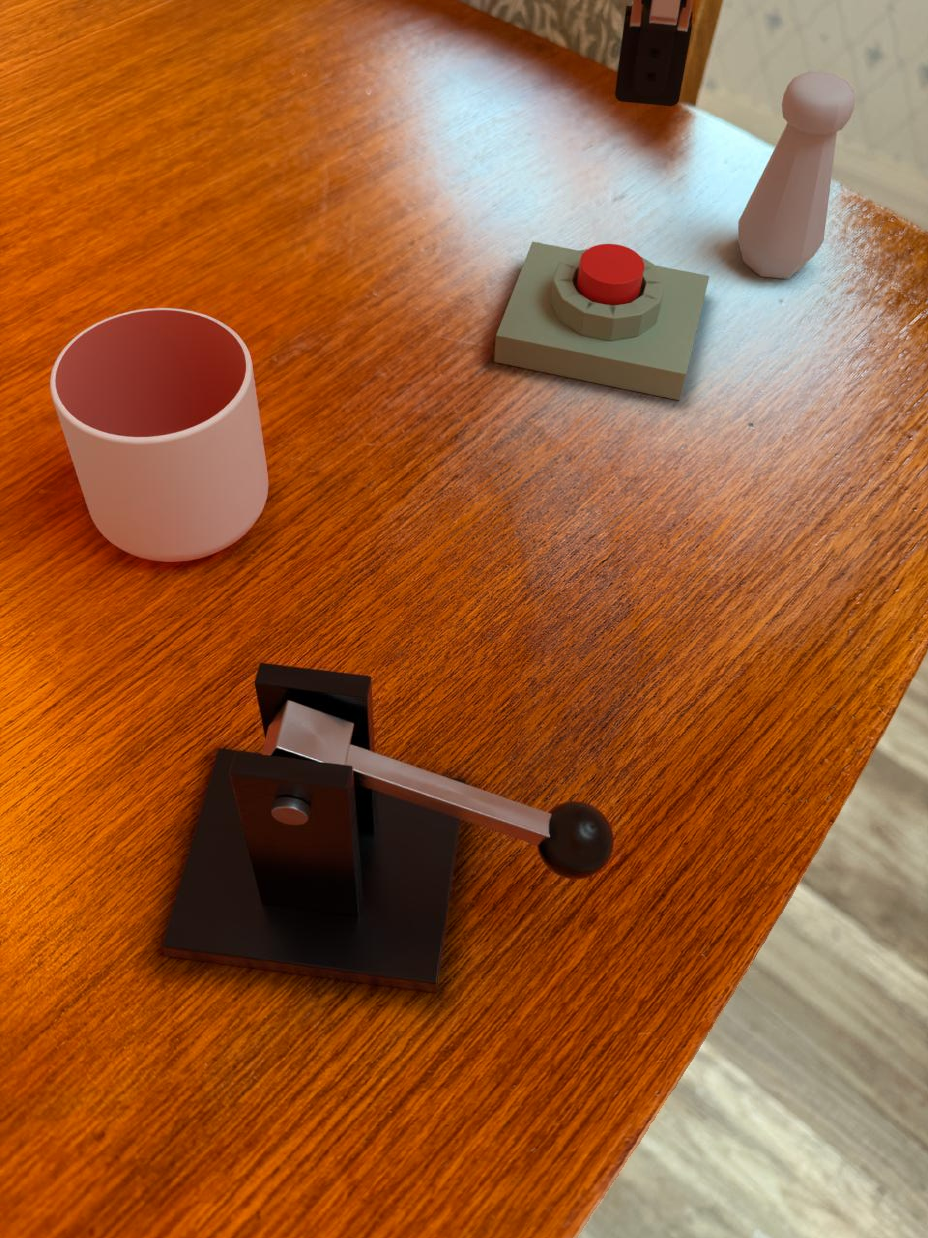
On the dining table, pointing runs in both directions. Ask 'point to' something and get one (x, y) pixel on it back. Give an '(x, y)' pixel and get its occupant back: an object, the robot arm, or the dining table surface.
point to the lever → (447, 792)
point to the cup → (163, 431)
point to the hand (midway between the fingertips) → (646, 94)
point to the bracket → (314, 858)
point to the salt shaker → (796, 178)
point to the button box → (601, 325)
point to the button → (610, 274)
